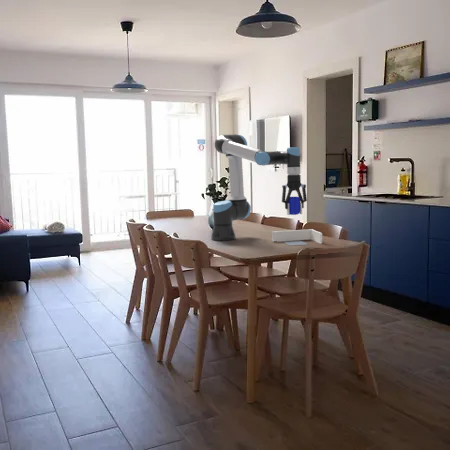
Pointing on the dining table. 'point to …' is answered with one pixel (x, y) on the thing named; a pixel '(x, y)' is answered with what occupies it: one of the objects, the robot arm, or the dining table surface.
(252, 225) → the dining table surface
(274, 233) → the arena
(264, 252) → the dining table surface
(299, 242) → the mat
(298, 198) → the mug
